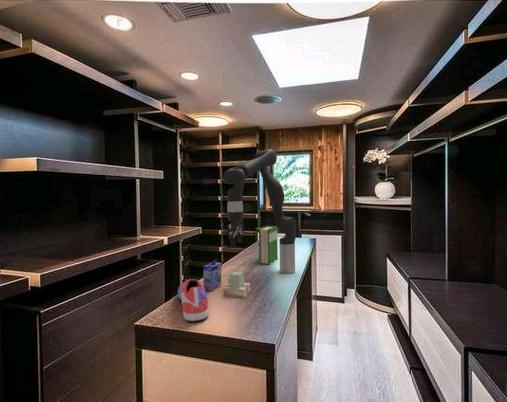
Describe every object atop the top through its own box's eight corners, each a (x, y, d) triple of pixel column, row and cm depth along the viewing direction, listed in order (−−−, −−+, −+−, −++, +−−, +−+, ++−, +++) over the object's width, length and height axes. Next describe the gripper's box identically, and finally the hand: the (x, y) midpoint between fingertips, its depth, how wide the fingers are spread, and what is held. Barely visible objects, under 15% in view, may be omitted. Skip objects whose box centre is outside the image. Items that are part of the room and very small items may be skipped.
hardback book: (269, 265, 192) (269, 229, 191) (259, 264, 195) (258, 228, 194) (277, 259, 208) (277, 226, 208) (268, 258, 211) (267, 225, 210)
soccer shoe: (202, 291, 143) (201, 264, 143) (214, 321, 108) (213, 286, 108) (176, 294, 139) (175, 266, 139) (180, 326, 105) (179, 290, 104)
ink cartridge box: (212, 291, 141) (212, 262, 141) (202, 290, 143) (202, 261, 143) (222, 285, 150) (221, 258, 150) (212, 284, 152) (212, 257, 152)
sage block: (234, 283, 142) (233, 271, 141) (243, 284, 140) (243, 272, 140) (230, 286, 137) (229, 274, 137) (239, 287, 135) (239, 275, 135)
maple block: (230, 289, 145) (230, 282, 145) (250, 291, 142) (250, 283, 142) (223, 296, 135) (223, 288, 135) (244, 298, 132) (244, 289, 132)
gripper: (233, 209, 147) (234, 241, 147) (221, 211, 133) (222, 246, 134) (247, 209, 145) (248, 242, 145) (237, 211, 131) (237, 247, 131)
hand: (236, 244), depth 139 cm, fingers open, 8 cm apart
